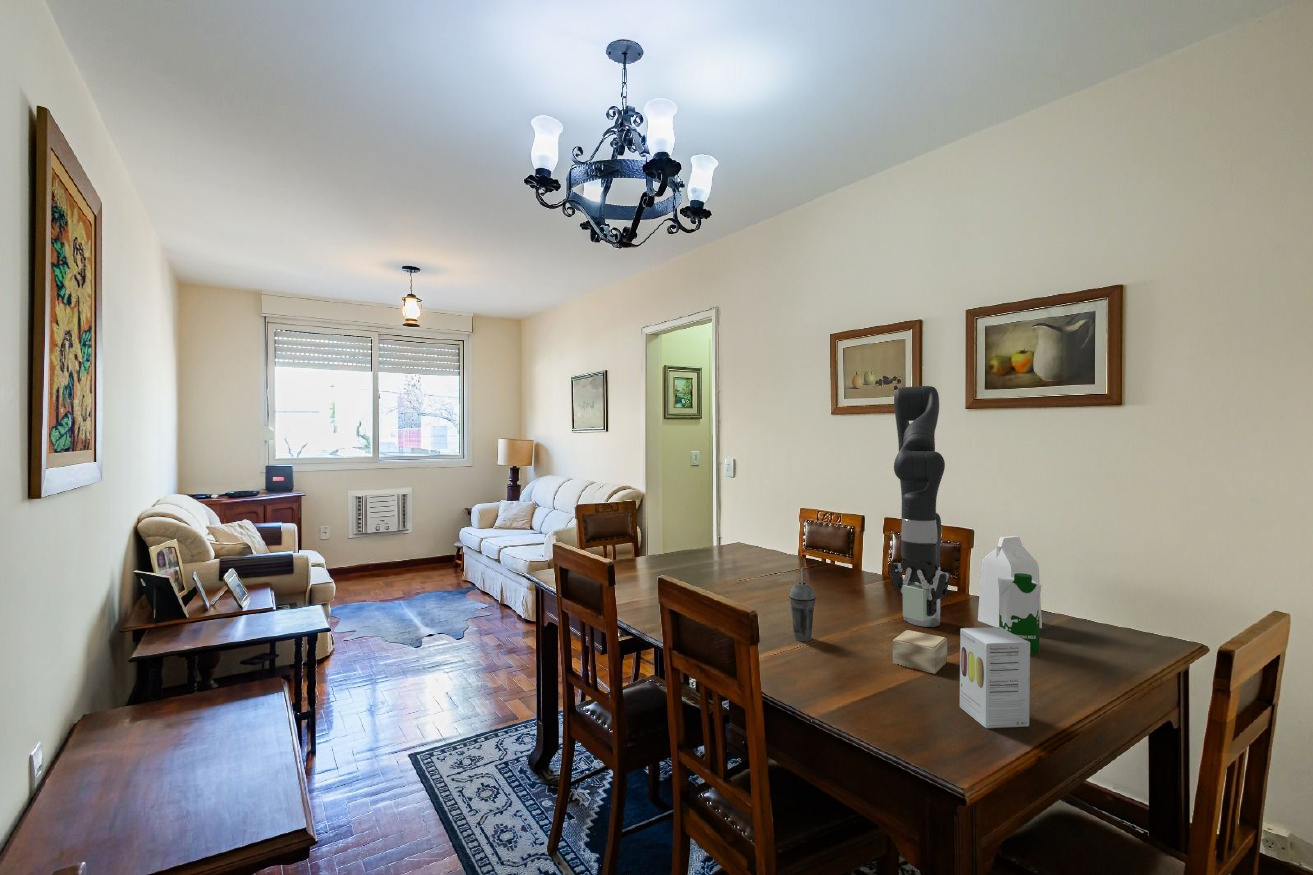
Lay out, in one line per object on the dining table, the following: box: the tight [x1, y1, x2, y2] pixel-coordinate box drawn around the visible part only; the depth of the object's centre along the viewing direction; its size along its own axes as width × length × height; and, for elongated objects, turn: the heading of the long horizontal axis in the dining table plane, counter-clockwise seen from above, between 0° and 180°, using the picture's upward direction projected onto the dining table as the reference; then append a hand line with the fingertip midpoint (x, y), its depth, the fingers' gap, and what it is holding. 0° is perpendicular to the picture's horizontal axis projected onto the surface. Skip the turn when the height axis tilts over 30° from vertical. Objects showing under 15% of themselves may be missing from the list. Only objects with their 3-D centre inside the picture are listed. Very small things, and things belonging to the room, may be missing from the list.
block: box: [902, 583, 935, 621], centre depth 141 cm, size 5×5×7 cm
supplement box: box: [959, 626, 1031, 729], centre depth 125 cm, size 10×9×17 cm
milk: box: [977, 535, 1043, 629], centre depth 183 cm, size 12×12×26 cm
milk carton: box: [998, 573, 1042, 654], centre depth 163 cm, size 9×9×20 cm
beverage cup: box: [788, 567, 817, 642], centre depth 171 cm, size 7×7×20 cm
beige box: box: [892, 629, 948, 674], centre depth 154 cm, size 10×10×6 cm
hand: (919, 612), depth 141 cm, fingers closed on block, 5 cm apart
